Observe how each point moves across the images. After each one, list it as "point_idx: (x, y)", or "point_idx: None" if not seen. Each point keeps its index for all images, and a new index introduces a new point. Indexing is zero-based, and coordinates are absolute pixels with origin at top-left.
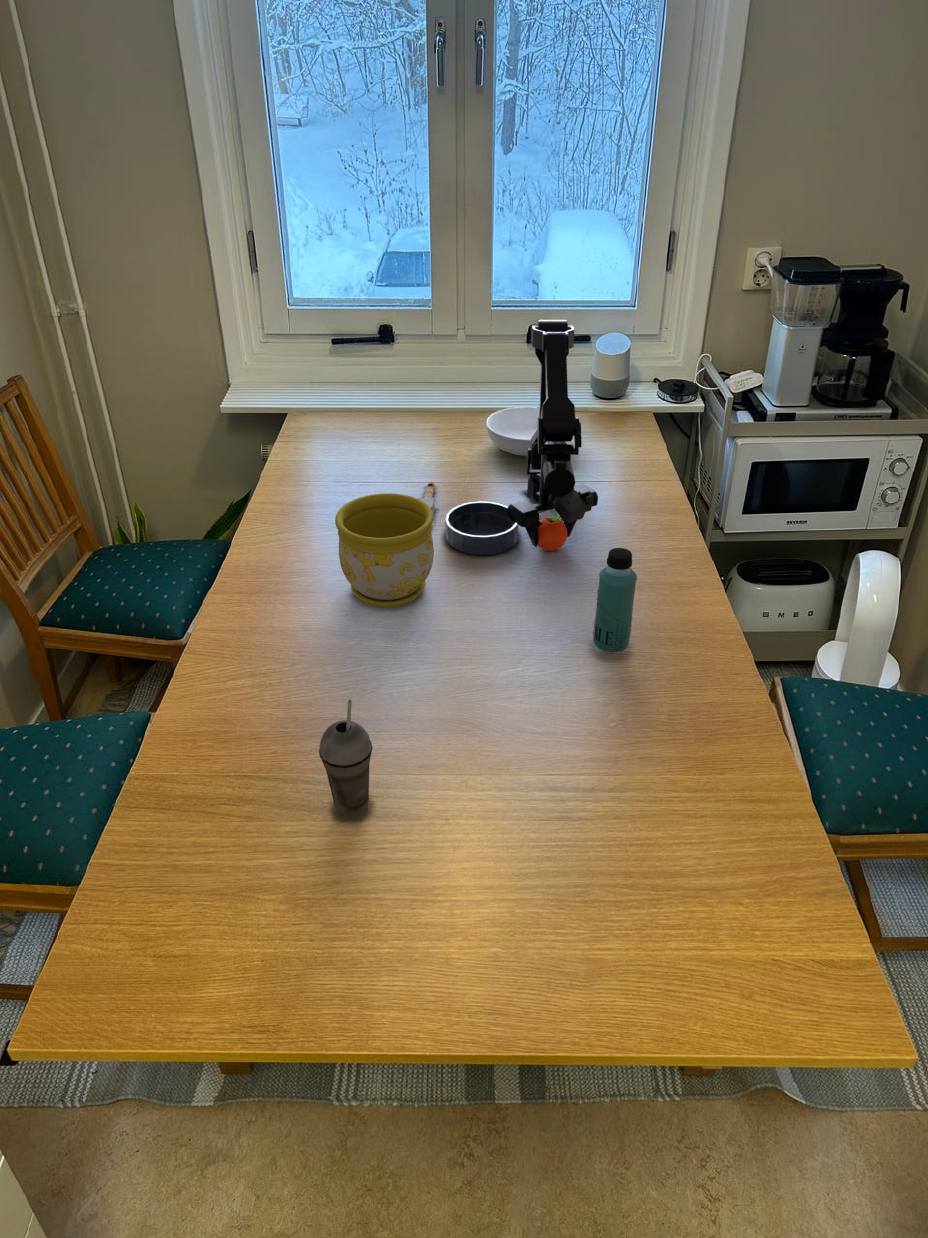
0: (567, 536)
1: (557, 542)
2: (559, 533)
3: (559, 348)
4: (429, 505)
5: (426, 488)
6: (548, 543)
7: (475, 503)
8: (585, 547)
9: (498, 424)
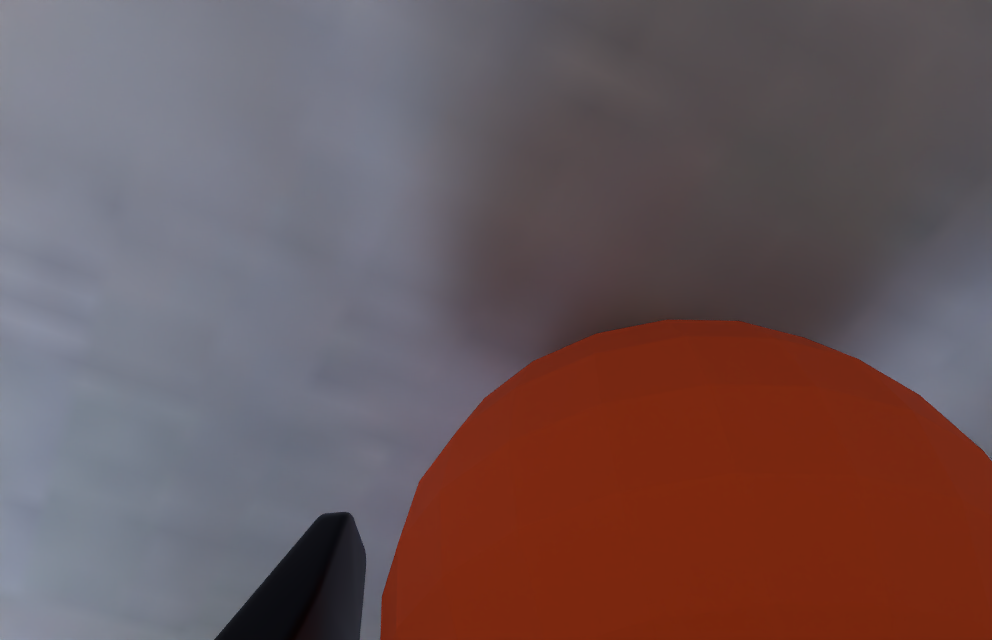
0: (351, 517)
1: (772, 376)
2: (757, 583)
3: None
4: None
5: None
6: (941, 419)
7: None
8: (146, 271)
9: None
